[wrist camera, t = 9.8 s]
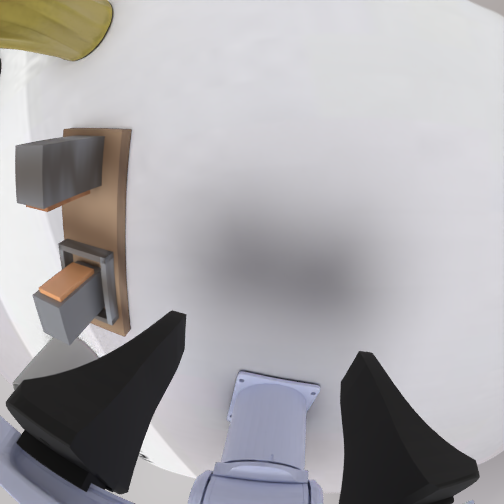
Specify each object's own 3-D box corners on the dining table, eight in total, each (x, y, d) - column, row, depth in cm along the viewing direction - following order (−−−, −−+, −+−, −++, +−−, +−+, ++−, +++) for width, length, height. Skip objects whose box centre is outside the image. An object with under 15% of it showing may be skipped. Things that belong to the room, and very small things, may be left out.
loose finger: (107, 303, 22) (69, 345, 17) (82, 294, 22) (44, 331, 17) (103, 264, 20) (57, 303, 15) (77, 256, 20) (31, 290, 15)
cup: (109, 388, 30) (76, 442, 21) (64, 364, 31) (28, 411, 22) (99, 346, 27) (53, 408, 18) (49, 321, 27) (3, 370, 18)
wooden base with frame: (130, 329, 24) (93, 380, 18) (83, 310, 25) (43, 353, 18) (131, 129, 17) (60, 136, 10) (73, 128, 17) (5, 138, 11)
